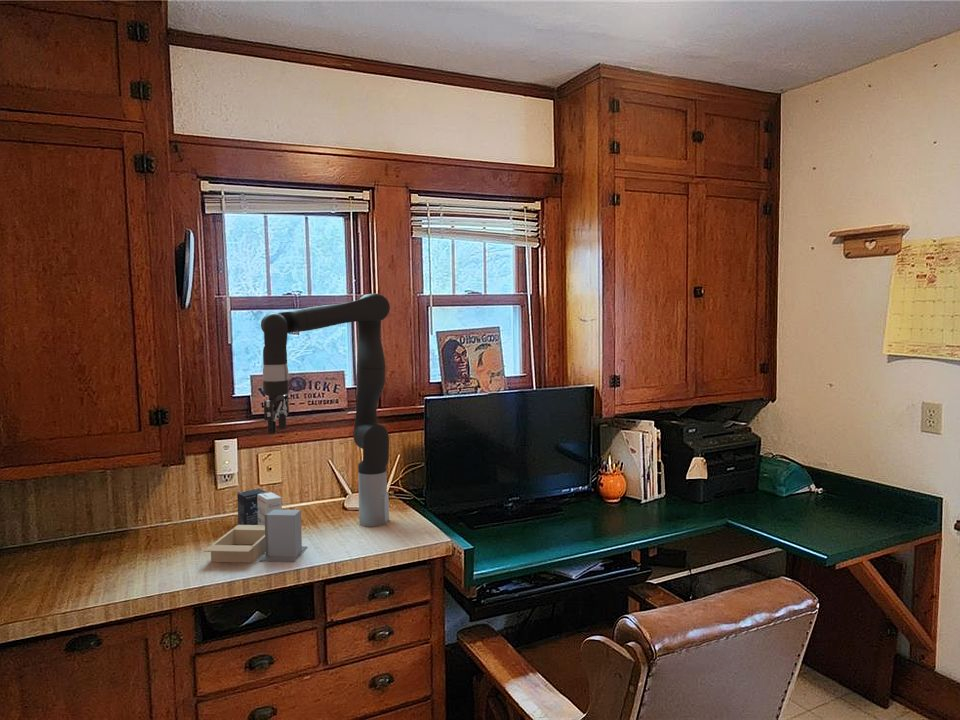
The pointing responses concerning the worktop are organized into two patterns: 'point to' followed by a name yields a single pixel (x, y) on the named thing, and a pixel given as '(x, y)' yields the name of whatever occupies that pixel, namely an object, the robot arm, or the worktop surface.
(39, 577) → the worktop surface
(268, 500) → the ink box
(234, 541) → the beige shallow rectangular tray
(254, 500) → the box
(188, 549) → the worktop surface
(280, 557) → the mat
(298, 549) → the box
